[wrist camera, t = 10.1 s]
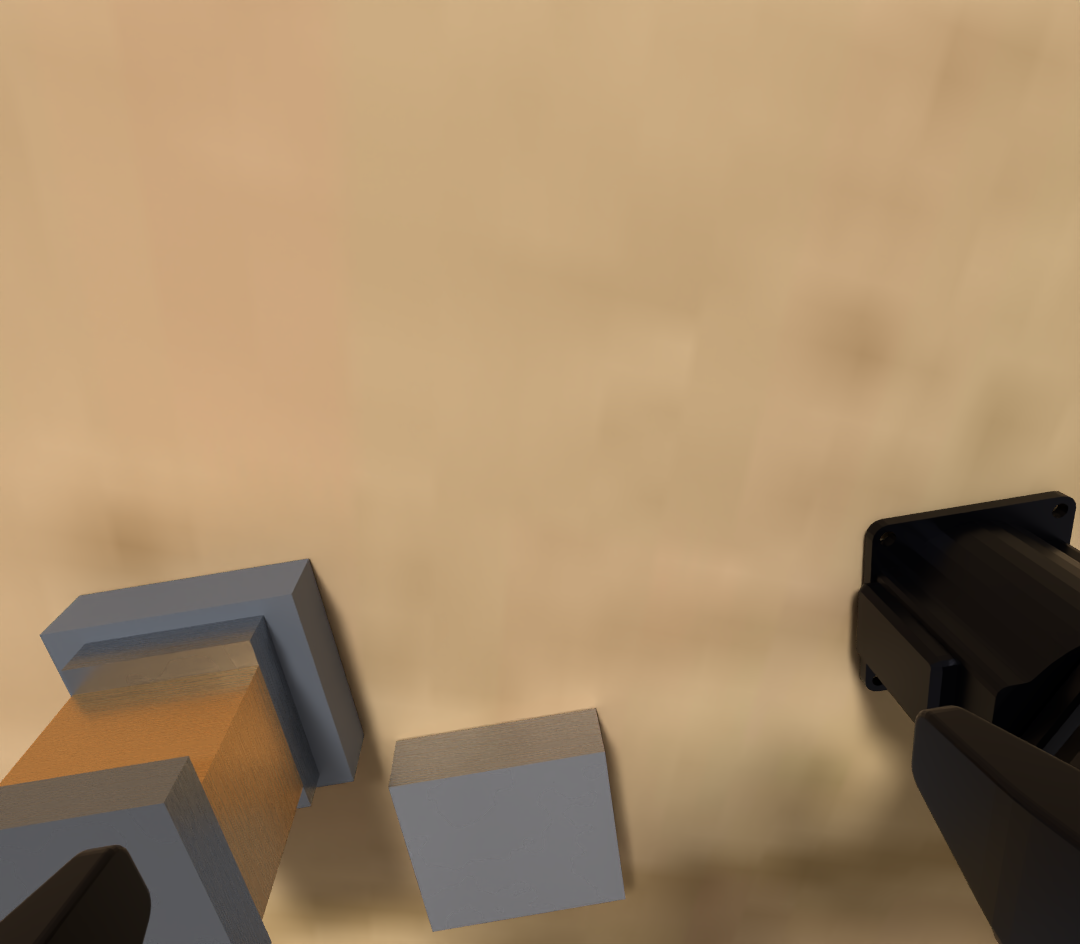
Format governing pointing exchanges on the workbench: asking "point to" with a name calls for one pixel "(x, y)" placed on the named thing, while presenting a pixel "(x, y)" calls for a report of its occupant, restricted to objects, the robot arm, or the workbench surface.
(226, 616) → the stand
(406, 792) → the stand
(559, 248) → the workbench surface
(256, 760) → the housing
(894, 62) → the workbench surface
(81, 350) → the workbench surface
